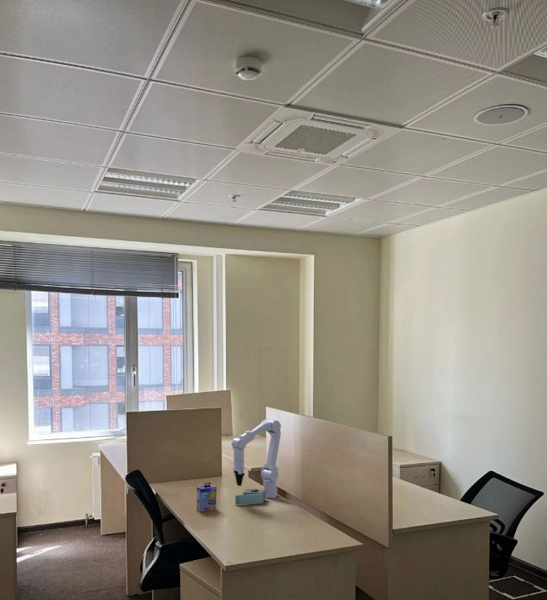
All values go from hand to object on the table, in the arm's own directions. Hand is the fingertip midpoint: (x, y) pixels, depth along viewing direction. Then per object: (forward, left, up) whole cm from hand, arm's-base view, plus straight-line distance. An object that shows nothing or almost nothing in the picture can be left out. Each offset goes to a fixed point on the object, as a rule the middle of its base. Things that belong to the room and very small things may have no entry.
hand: (239, 484), depth 328 cm
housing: (-7, +7, -10) cm, 14 cm away
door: (+1, +6, -10) cm, 12 cm away
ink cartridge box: (+14, -14, -11) cm, 23 cm away
